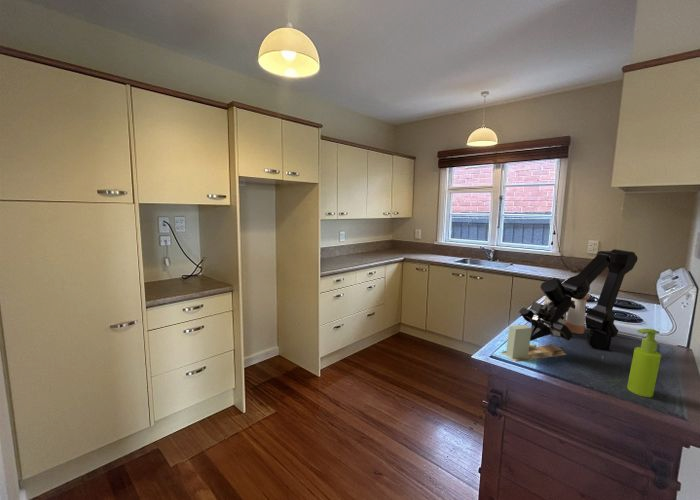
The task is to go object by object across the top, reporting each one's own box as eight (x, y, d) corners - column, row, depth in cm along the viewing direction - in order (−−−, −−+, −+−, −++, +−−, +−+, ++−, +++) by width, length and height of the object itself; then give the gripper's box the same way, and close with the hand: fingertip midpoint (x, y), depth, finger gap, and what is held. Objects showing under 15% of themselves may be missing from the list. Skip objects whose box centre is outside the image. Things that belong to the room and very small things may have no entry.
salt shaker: (588, 333, 139) (595, 291, 136) (574, 334, 137) (581, 292, 134) (573, 326, 146) (579, 286, 143) (560, 327, 144) (566, 287, 141)
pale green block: (521, 352, 117) (525, 324, 115) (527, 356, 114) (531, 327, 113) (505, 354, 115) (509, 326, 113) (512, 358, 112) (515, 329, 111)
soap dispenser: (618, 385, 99) (630, 325, 96) (639, 385, 100) (651, 325, 97) (637, 397, 94) (650, 334, 90) (658, 397, 94) (671, 334, 91)
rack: (549, 347, 124) (550, 341, 123) (566, 356, 117) (567, 350, 117) (500, 354, 117) (501, 348, 117) (515, 364, 110) (516, 357, 110)
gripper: (525, 287, 123) (499, 316, 121) (570, 303, 105) (540, 337, 104) (539, 305, 126) (513, 334, 125) (585, 323, 109) (555, 357, 107)
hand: (529, 339), depth 115 cm, fingers closed
